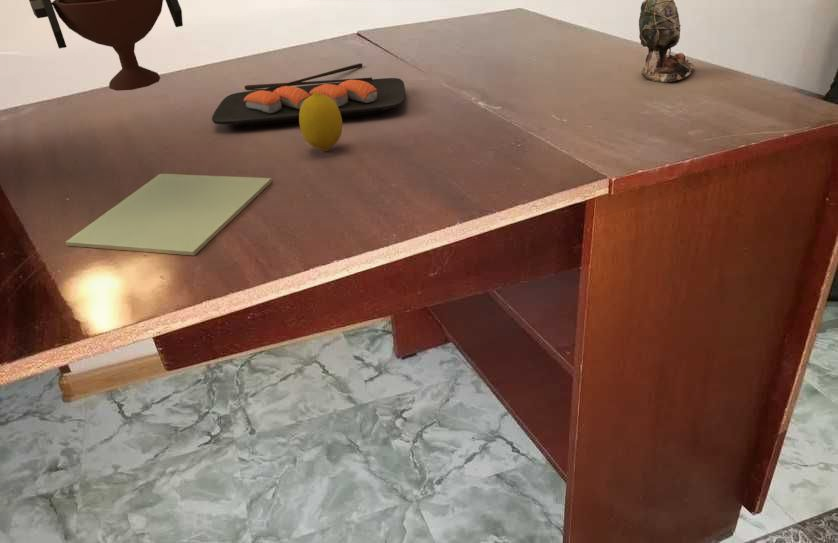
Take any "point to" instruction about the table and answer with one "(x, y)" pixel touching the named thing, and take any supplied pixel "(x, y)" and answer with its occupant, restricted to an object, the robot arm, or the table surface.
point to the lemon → (320, 121)
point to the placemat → (171, 214)
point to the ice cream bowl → (115, 32)
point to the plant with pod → (662, 41)
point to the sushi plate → (286, 100)
